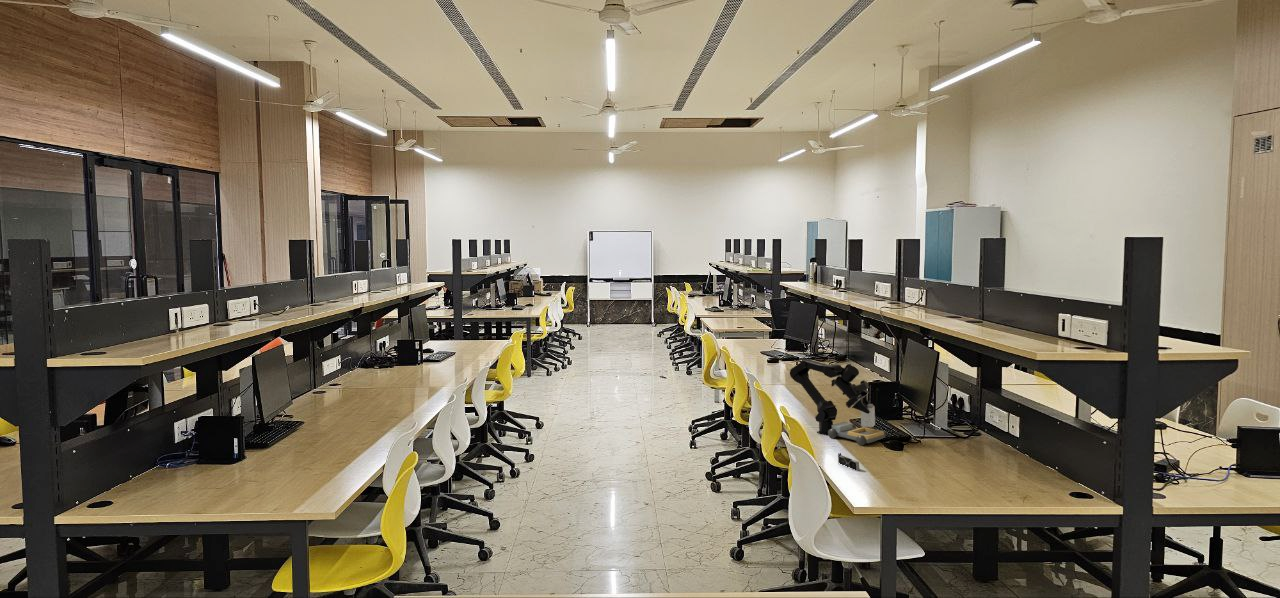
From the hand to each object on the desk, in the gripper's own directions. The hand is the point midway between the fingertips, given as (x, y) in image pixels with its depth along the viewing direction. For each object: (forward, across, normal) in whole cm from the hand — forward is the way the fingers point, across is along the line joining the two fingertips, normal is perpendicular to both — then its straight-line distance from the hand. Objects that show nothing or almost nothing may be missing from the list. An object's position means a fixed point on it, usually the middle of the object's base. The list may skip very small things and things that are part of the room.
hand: (870, 411), depth 327 cm
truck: (+4, 0, +15) cm, 15 cm away
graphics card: (+12, -42, +8) cm, 45 cm away
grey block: (+4, 0, +6) cm, 7 cm away
